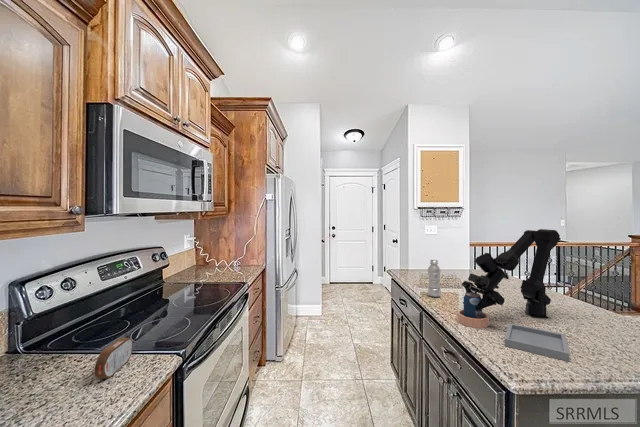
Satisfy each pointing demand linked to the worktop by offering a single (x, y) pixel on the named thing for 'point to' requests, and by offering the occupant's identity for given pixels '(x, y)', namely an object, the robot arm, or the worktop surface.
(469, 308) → the soda can
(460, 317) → the ring holder
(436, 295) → the plastic bottle
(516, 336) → the tray
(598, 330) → the worktop surface
